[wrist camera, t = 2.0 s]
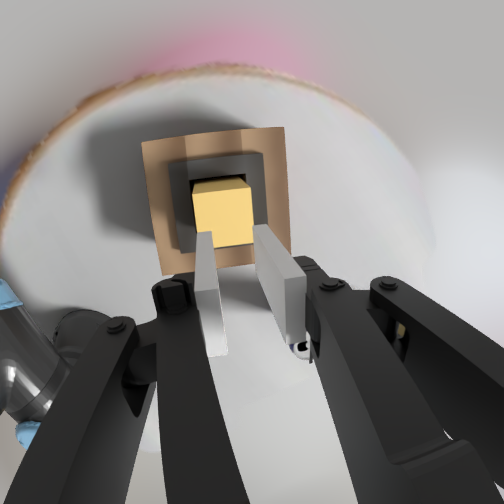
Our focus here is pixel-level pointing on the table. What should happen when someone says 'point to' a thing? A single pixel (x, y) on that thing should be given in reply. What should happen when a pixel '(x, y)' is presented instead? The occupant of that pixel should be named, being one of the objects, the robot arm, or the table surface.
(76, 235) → the table surface
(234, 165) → the socket block
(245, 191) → the peg
